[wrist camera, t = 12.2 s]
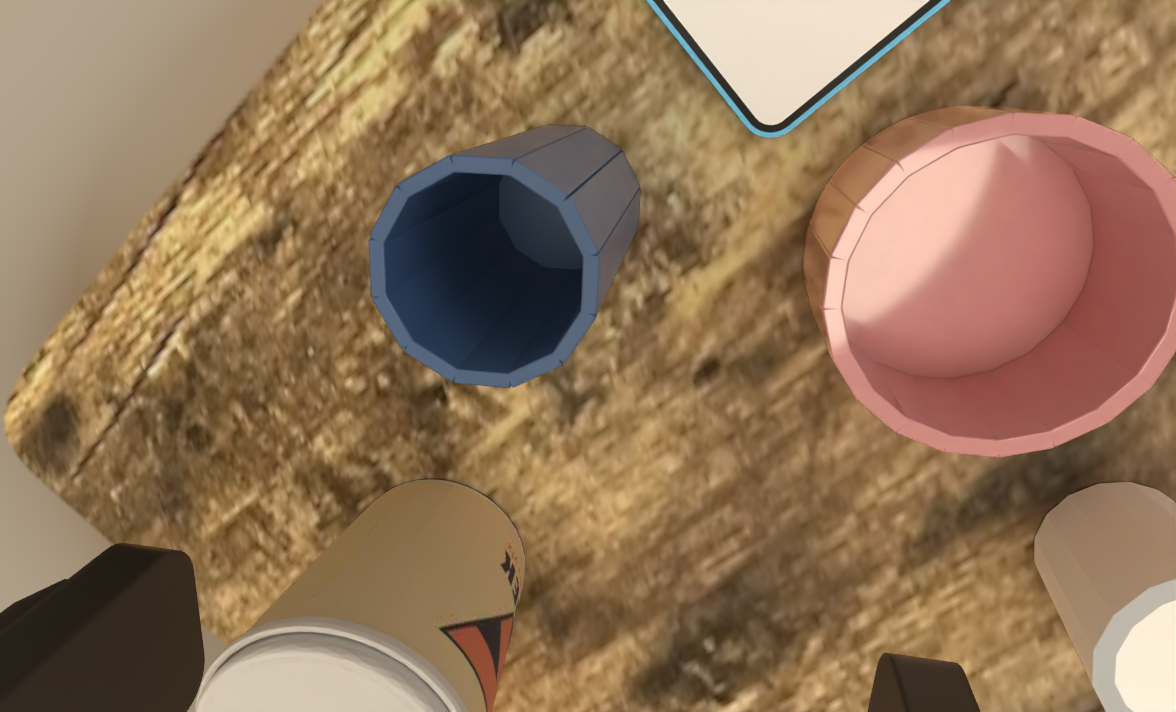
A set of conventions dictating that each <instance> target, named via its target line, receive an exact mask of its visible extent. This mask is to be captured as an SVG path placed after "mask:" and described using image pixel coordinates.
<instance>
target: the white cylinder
mask: <svg viewBox="0 0 1176 712" xmlns="http://www.w3.org/2000/svg"><path fill="white" fill-rule="evenodd" d="M1034 563H1035V565H1036V567H1037V569H1038V571H1039V574H1040V576H1041V578H1042V580H1043V582H1044V584H1045V586H1046V588H1047V590H1048V593H1049V595H1050V597H1051V599H1052V601H1053V603H1054V605H1055V607H1056V609H1057V612H1058V614H1059V616H1060V618H1061V620H1062V622H1063V624H1064V626H1065V628H1066V631H1067V633H1068V635H1069V637H1070V639H1071V641H1072V643H1073V645H1074V647H1075V650H1076V652H1077V654H1078V656H1079V658H1080V660H1081V662H1082V664H1083V666H1084V669H1085V671H1086V673H1087V675H1088V677H1089V679H1090V681H1091V683H1092V685H1093V687H1094V689H1095V691H1096V693H1097V695H1098V697H1099V699H1100V701H1101V703H1102V705H1103V707H1104V709H1105V711H1106V712H1176V502H1175V501H1173V500H1172V499H1170V498H1169V497H1168V496H1166V495H1165V494H1163V493H1162V492H1161V491H1159V490H1157V489H1153V488H1150V487H1146V486H1143V485H1139V484H1136V483H1132V482H1117V483H1101V484H1096V485H1093V486H1091V487H1088V488H1086V489H1083V490H1081V491H1078V492H1076V493H1073V494H1071V495H1068V496H1067V497H1066V498H1065V499H1064V500H1063V501H1061V502H1060V503H1059V504H1058V505H1057V506H1056V507H1054V508H1053V509H1052V510H1051V511H1050V512H1049V513H1047V514H1046V516H1045V518H1044V520H1043V522H1042V524H1041V526H1040V528H1039V530H1038V532H1037V534H1036V536H1035V538H1034Z"/></svg>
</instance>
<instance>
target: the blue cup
mask: <svg viewBox="0 0 1176 712" xmlns="http://www.w3.org/2000/svg"><path fill="white" fill-rule="evenodd" d="M620 151H621V148H619V147H618V146H616V145H615V144H613V143H612V142H610V141H609V140H607V139H606V138H604V137H603V136H601V135H600V134H599V133H597V132H596V131H594V130H593V129H591V128H587V127H586V126H571V125H552V124H549V125H544V126H541V127H538V128H535V129H532V130H529V131H525V132H522V133H519V134H516V135H513V136H509V137H506V138H503V139H500V140H497V141H494V142H490V143H487V144H484V145H481V146H478V147H474V148H471V149H468V150H465V151H462V152H459V153H455V154H452V155H449V156H446V157H445V158H443V159H441V160H439V161H437V162H436V163H434V164H432V165H430V166H428V167H427V168H425V169H423V170H421V171H419V172H418V173H416V174H414V175H412V176H410V177H409V178H407V179H405V180H403V181H402V182H400V183H399V185H398V186H396V187H395V188H394V190H393V192H392V194H391V196H390V198H389V199H388V201H387V203H386V205H385V207H384V209H383V211H382V213H381V214H380V216H379V218H378V220H377V222H376V224H375V226H374V228H373V230H372V231H371V233H370V237H371V238H370V239H369V261H370V282H371V296H372V297H374V298H373V302H374V304H375V305H376V307H377V309H378V310H379V312H380V314H381V315H382V317H383V319H384V320H385V322H386V324H387V326H388V327H389V329H390V331H391V332H392V334H393V336H394V337H395V339H396V341H397V342H398V344H399V346H400V347H401V349H403V348H405V349H404V352H405V353H407V354H409V355H410V356H412V357H413V358H415V359H416V360H418V361H419V362H421V363H423V364H424V365H426V366H427V367H429V368H430V369H432V370H434V371H435V372H437V373H438V374H440V375H441V376H443V377H444V378H446V379H448V380H449V381H451V382H452V381H453V380H454V382H455V383H459V384H470V385H481V386H492V387H503V388H510V387H511V386H512V387H516V386H518V385H520V384H522V383H525V382H527V381H529V380H531V379H533V378H536V377H538V376H540V375H542V374H544V373H547V372H549V371H551V370H553V369H555V368H558V367H560V366H562V364H563V362H564V363H565V362H566V361H567V360H568V358H569V357H570V355H571V354H572V352H573V351H574V349H575V348H576V346H577V345H578V343H579V342H580V340H581V339H582V337H583V336H584V334H585V333H586V332H587V330H588V329H589V327H590V326H591V324H592V323H593V321H594V320H595V318H596V316H597V314H598V312H599V310H600V307H601V305H602V303H603V301H604V299H605V297H606V295H607V293H608V291H609V288H610V286H611V284H612V282H613V280H614V278H615V276H616V274H617V271H618V269H619V267H620V265H621V263H622V261H623V259H624V257H625V254H626V252H627V250H628V248H629V246H630V244H631V242H632V240H633V238H634V235H635V233H636V231H637V228H638V226H639V210H640V194H641V189H640V188H639V187H640V184H639V182H638V180H637V178H636V176H635V174H634V172H633V170H632V168H631V166H630V164H629V162H628V160H627V158H626V156H625V154H624V152H623V151H621V152H620Z"/></svg>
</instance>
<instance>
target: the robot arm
mask: <svg viewBox="0 0 1176 712" xmlns="http://www.w3.org/2000/svg"><path fill="white" fill-rule="evenodd" d="M204 660H205V658H204V648H203V640H202V632H201V624H200V616H199V608H198V600H197V592H196V584H195V576H194V569H193V564H192V562H191V559H190V558H189V556H188V555H187V554H186V553H185V552H182V551H178V550H171V549H164V548H157V547H150V546H143V545H136V544H129V543H118V544H115V545H113V546H111V547H109V548H108V549H106V550H105V551H104V552H102V553H101V554H100V555H99V556H97V557H96V558H95V559H93V560H92V561H91V562H90V563H88V564H87V565H86V566H85V567H83V568H82V569H81V570H80V571H78V572H77V573H76V574H74V575H73V576H72V577H70V578H69V579H64V580H62V581H60V582H57V583H55V584H53V585H51V586H49V587H47V588H45V589H43V590H41V591H38V592H36V593H34V594H32V595H30V596H28V597H26V598H24V599H21V600H20V601H17V602H15V603H13V604H12V605H10V606H9V607H8V608H7V609H5V610H4V611H3V612H1V613H0V712H187V710H188V709H189V707H190V706H191V704H192V702H193V701H194V699H195V697H196V694H197V692H198V689H199V687H200V684H201V680H202V676H203V671H204ZM868 712H980V710H979V707H978V705H977V702H976V700H975V697H974V695H973V692H972V690H971V687H970V685H969V682H968V680H967V677H966V675H965V673H964V671H963V669H962V667H961V666H960V665H959V664H958V663H954V662H947V661H940V660H933V659H926V658H919V657H912V656H905V655H898V654H891V653H884V654H883V655H882V656H881V658H880V660H879V662H878V666H877V670H876V674H875V679H874V684H873V688H872V693H871V698H870V703H869V708H868Z"/></svg>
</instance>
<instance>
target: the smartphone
mask: <svg viewBox="0 0 1176 712" xmlns="http://www.w3.org/2000/svg"><path fill="white" fill-rule="evenodd" d="M646 1H647V2H648V3H649V5H650V6H651V7H652V8H653V10H654V11H655V12H656V13H657V15H658V16H659V17H660V18H661V20H662V21H663V22H664V23H665V25H666V26H667V27H668V29H669V30H670V31H671V32H672V34H673V35H674V36H675V37H676V39H677V40H678V41H679V42H680V44H681V45H682V46H683V47H684V49H685V50H686V51H687V53H688V54H689V55H690V56H691V58H692V59H693V60H694V61H695V63H696V64H697V65H698V66H699V68H700V69H701V70H702V71H703V73H704V74H705V75H706V77H707V78H708V79H709V80H710V82H711V83H712V84H713V85H714V87H715V88H716V89H717V90H718V92H719V93H720V94H721V96H722V97H723V98H724V99H725V101H726V102H727V103H728V104H729V106H730V107H731V108H732V109H733V111H734V112H735V113H736V114H737V116H738V117H739V118H740V120H741V121H742V122H743V123H744V125H745V126H746V127H747V128H748V129H749V130H750V131H751V132H753V133H754V134H756V135H758V136H761V137H766V138H774V137H779V136H782V135H784V134H786V133H788V132H789V131H791V130H792V129H793V128H795V127H796V126H797V125H798V124H799V123H801V122H802V121H803V120H804V119H806V118H807V117H808V116H809V115H810V114H812V113H813V112H814V111H815V110H817V109H818V108H819V107H820V106H821V105H823V104H824V103H825V102H826V101H828V100H829V99H830V98H831V97H833V96H834V95H835V94H836V93H837V92H839V91H840V90H841V89H842V88H844V87H845V86H846V85H847V84H848V83H850V82H851V81H852V80H853V79H855V78H856V77H857V76H858V75H860V74H861V73H862V72H863V71H864V70H866V69H867V68H868V67H869V66H871V65H872V64H873V63H874V62H875V61H877V60H878V59H879V58H880V57H882V56H883V55H884V54H885V53H886V52H888V51H889V50H890V49H891V48H893V47H894V46H895V45H896V44H898V43H899V42H900V41H901V40H902V39H904V38H905V37H906V36H907V35H909V34H910V33H911V32H912V31H913V30H915V29H916V28H917V27H918V26H920V25H921V24H922V23H923V22H925V21H926V20H927V19H928V18H929V17H931V16H932V15H933V14H934V13H936V12H937V11H938V10H939V9H940V8H942V7H943V6H944V5H945V4H947V3H948V2H949V1H950V0H646Z"/></svg>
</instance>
